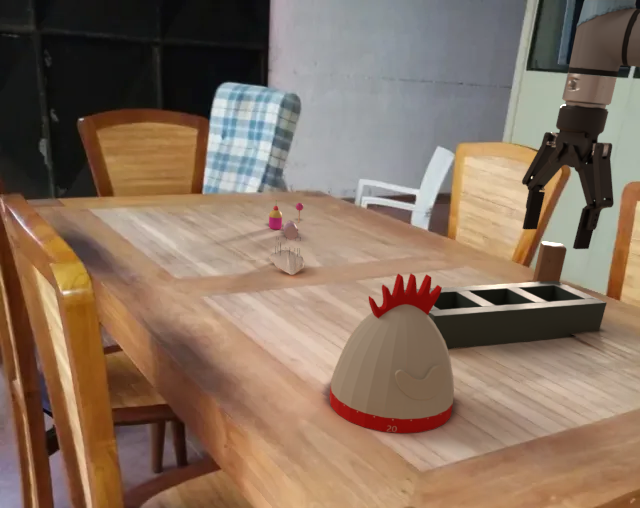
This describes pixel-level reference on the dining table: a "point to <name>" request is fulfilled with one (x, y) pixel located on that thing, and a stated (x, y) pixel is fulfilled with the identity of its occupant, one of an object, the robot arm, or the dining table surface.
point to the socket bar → (513, 313)
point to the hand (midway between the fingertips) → (553, 238)
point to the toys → (288, 226)
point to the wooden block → (549, 262)
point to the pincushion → (287, 260)
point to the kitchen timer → (396, 365)
